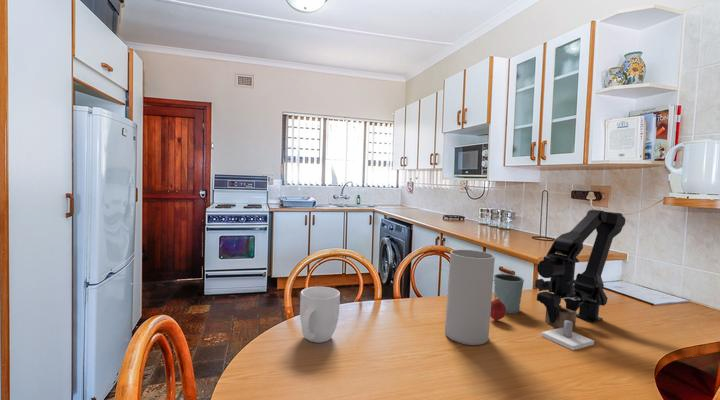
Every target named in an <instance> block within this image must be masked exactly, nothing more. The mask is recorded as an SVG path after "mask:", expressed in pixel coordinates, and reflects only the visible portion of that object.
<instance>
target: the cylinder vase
mask: <svg viewBox="0 0 720 400" xmlns="http://www.w3.org/2000/svg"><path fill="white" fill-rule="evenodd" d="M495 258H496V256H495V254H492V253H489V252H486V251H480V250H475V249H474V250H473V249H452V250H450V252H449V265H448V280H447V294H446V295H447V296H446V308H445V309H446V310H445V311H446V312H445V325H444V334H445V335H446V337H447V338H449V339H450V340H452V341H454V342H456V343H459V344H462V345H467V346H481V345H484V344H486V343H487V342H488V341H489V338H490V337H489V335H490V325H491V323H490V322H491V316H490V313H491V302H492V301H493V300H492V298H493V288H494V286H493V284H494V275H495V274H494V272H495V260H496V259H495Z"/></svg>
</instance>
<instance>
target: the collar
mask: <svg viewBox="0 0 720 400" xmlns="http://www.w3.org/2000/svg"><path fill="white" fill-rule="evenodd" d="M576 314H577V311H576V312H575V311H572V310H570V309H567V308H566V307H564V306H561V308H560V311H559V313H558V316H557V318H556V320H555V322H554V323H551V322H550V319H549V316H548V312H547V309H546V308H545V318H544V323H547V324H549V325H552V326H554V327H556V328H557V329H558V328H564V321H565V320H568V321H572V322H573V326H572V328H575V327H576V320H577V316H576Z"/></svg>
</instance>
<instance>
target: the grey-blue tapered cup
mask: <svg viewBox="0 0 720 400" xmlns="http://www.w3.org/2000/svg"><path fill="white" fill-rule="evenodd" d="M524 281H525V279H524V278H523V277H522V276H518V275H514V274H510V273H497V274H493V284H494V286H493V288H494V291H493V292H494V298H493V301H494V300H495V299H496V298H497V297H499V298H500V299H499V300H500V301H501V302H502V303H503V304H504V305H505V307H506V314H507V313H508V314H518V313H519V312H520V308H521V301H522V300H521V299H522V293H523V287H524Z"/></svg>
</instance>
